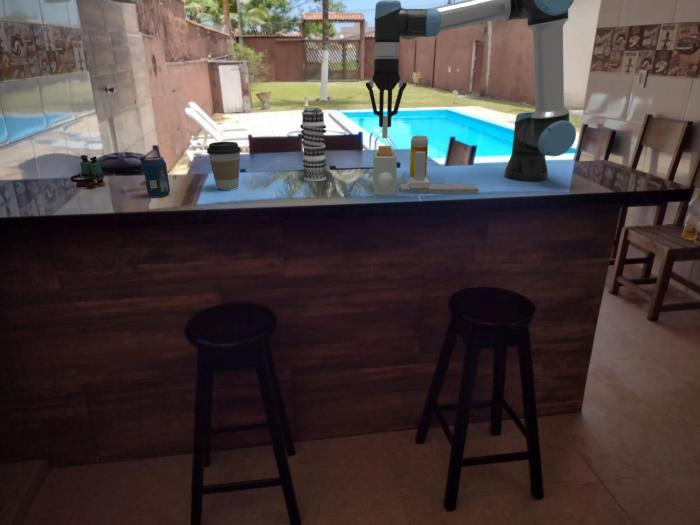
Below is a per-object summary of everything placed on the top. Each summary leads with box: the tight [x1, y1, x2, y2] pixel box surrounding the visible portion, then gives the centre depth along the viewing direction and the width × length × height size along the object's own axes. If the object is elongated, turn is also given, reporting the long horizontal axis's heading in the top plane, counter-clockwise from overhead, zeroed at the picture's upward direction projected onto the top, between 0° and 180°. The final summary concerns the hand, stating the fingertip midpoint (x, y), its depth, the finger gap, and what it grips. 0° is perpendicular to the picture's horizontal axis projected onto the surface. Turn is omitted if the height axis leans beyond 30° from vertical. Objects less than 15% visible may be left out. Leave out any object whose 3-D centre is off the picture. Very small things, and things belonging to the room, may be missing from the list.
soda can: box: [142, 156, 171, 198], centre depth 160 cm, size 7×7×12 cm
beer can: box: [409, 135, 429, 178], centre depth 181 cm, size 6×6×15 cm
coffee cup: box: [206, 141, 242, 191], centre depth 168 cm, size 11×11×15 cm
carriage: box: [408, 152, 431, 188], centre depth 163 cm, size 6×7×11 cm
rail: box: [399, 183, 479, 194], centre depth 165 cm, size 25×7×2 cm, turn 89°
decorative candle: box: [299, 107, 327, 182], centre depth 179 cm, size 9×9×25 cm
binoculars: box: [70, 154, 106, 190], centre depth 172 cm, size 9×11×10 cm
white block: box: [372, 151, 398, 196], centre depth 163 cm, size 7×12×12 cm, turn 179°
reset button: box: [377, 145, 392, 156], centre depth 161 cm, size 4×4×5 cm
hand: (384, 137), depth 159 cm, fingers closed
